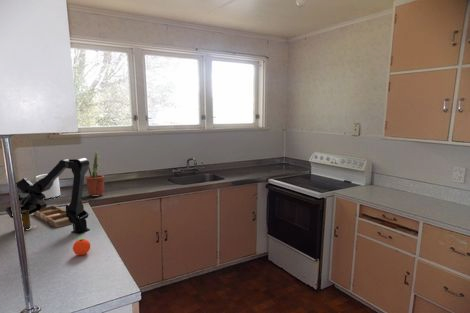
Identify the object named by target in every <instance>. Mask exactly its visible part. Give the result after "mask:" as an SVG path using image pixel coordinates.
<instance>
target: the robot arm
mask: <svg viewBox="0 0 470 313" xmlns="http://www.w3.org/2000/svg"><path fill="white" fill-rule="evenodd" d="M88 167H89V168H90V161H89V160H88V159H87V158H86V157H81V158H74V159H69V158H65V159H60V160H59V161H58V163H56V165H55V166H54V167H53V168H52V169H51V170H50V171H49V172H48V173H46V174H47V175H46V176H45V177H44V178H42V179H41V180H39V181H37V180H36V182H35V183H32V182H31V181H30V180H29V179H28V178H27V177H23V178H22V179H20V180H19V181H17V182H16V183H15V184H17V188H16V189H17V190H18V191H19V192H17V193H18V195H19V201H18V202H19V204H20V205H21V206H19V207H20V208H21V212H23V211H29V216H30V215H31V214H32V215H33V214H34V212H37V211H39V210H41V209H43V208H46V207H48V203H47V202H46V200H44V198H46V197H45V195H44V194H43V193H42V192H44V191H47V190H49V189H50V188H51V187H52V185H53V182H54V180H55V179H56V178H57V177H59V176H60V175H61V174H63V172H64V171H65V170H66V169H69V170H70V169H71V173H72V174H73V181H72V188H71V199H70V203H67V204H66V205H65V210H66V211H65V213H66V216H67V217H68V219H69V221H70V223H72V231H70V233H71V234H76V235H80V234H84V233H86V232H87V231H90V228H88V225H87V224H88V223H87V218H89V215H90V214H89V213H88V212H87V211H86V210H85V209H84V208H85V207H84V204H83V202H82V200H83V199H82V198H83V190H84V182H85V175H86V174H87V172H88V171H89V170H88ZM11 206H12V205H9V206H7V207H6V208H5V212H6V214H7V215H8V217H10V218H11V219H14V218H13V216H12V211H11Z"/></svg>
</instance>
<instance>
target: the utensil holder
mask: <svg viewBox="0 0 470 313" xmlns="http://www.w3.org/2000/svg"><path fill="white" fill-rule="evenodd" d="M47 174H48V173H44V174H39V175H37V176H35V180H36V182H37V181H39V180H41V179H42V178H44V177H45V176H46V175H47ZM60 188H61V186H60V178H59V176H58V177H57V178H56V179H55V180H54V182H53V185H52V187H51V188H50V189H49V190H47V191H44V192H42V193H43V194H44V195H45V197H46V198H50V197H55V196H59V195H60V196H61V189H60Z"/></svg>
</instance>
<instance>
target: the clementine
mask: <svg viewBox="0 0 470 313" xmlns="http://www.w3.org/2000/svg"><path fill="white" fill-rule="evenodd" d="M90 249H91V243H90V241H89V240H88V239H86V238H81V237H80V238H77V239H76V241H75V242H74V243H73V245H72V250H73V252H74V254H75V255H77V256H84V255H86V254H87V253H88V252H89V251H90Z"/></svg>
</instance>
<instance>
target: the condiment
mask: <svg viewBox="0 0 470 313" xmlns="http://www.w3.org/2000/svg"><path fill="white" fill-rule="evenodd" d="M21 214H22V221H23V227H24V231H25V230H26V229H29V228H30V226H32V225H31V217H30V215H29V211H23V212H21ZM33 226H34V228H33V229H35V228H36V227H37V225H33ZM24 231H23V232H24ZM25 232H26V231H25Z"/></svg>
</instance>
